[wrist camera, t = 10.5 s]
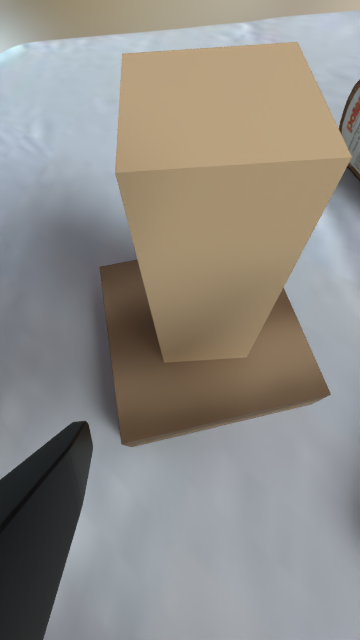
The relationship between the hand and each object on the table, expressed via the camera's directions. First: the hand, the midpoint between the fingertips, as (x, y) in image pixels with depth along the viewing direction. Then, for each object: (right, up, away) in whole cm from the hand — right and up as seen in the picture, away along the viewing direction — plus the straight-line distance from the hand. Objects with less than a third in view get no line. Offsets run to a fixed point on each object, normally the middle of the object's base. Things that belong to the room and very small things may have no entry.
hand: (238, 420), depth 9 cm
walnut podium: (0, +1, +13) cm, 13 cm away
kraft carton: (0, +3, +10) cm, 11 cm away
